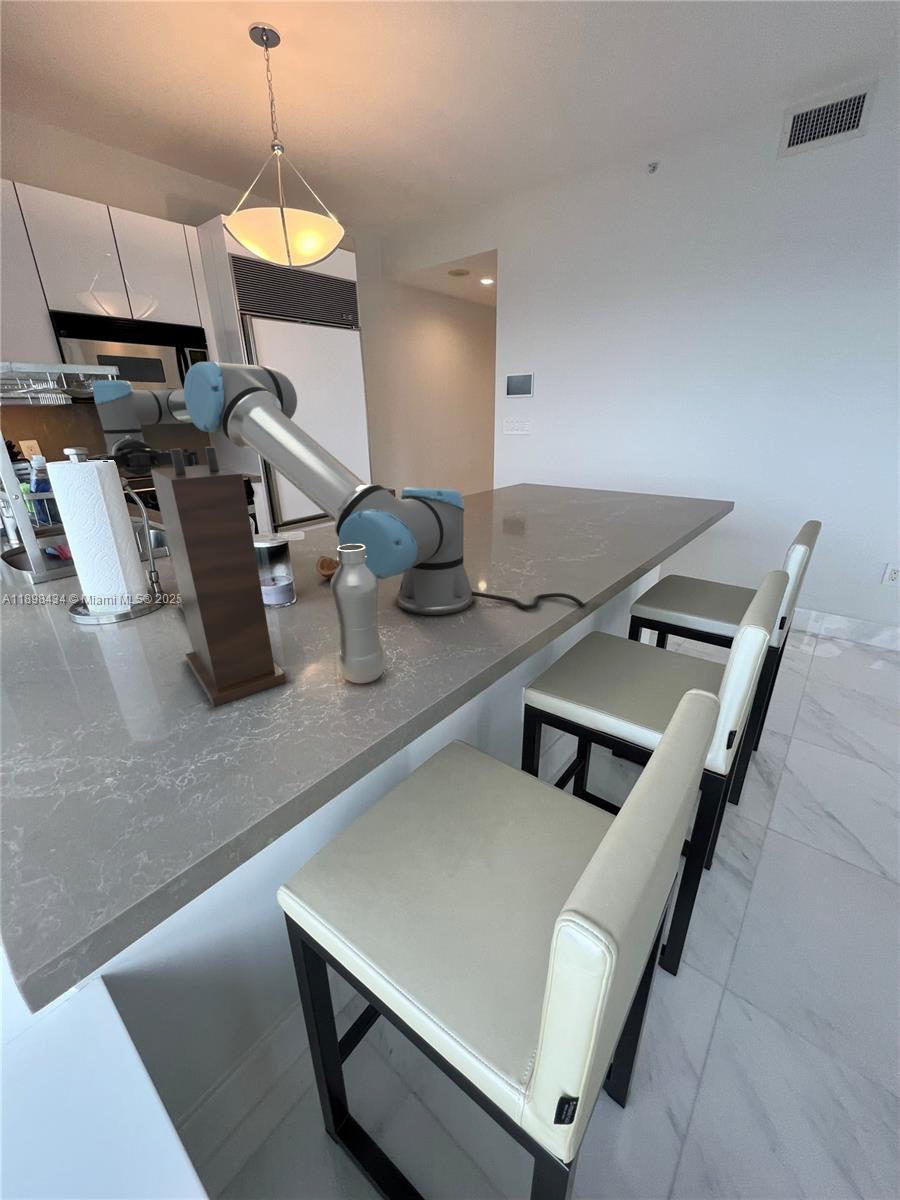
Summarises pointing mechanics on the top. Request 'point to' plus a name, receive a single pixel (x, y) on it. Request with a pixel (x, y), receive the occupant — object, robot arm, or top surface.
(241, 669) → the hook stand
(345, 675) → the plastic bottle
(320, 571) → the fruit slice
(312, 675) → the top surface
